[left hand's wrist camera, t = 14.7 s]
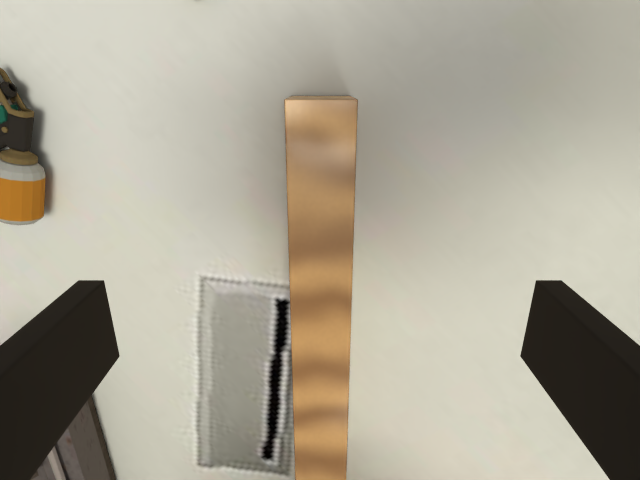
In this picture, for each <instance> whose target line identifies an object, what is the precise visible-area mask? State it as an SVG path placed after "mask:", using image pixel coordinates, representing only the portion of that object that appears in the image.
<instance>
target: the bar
mask: <svg viewBox="0 0 640 480" xmlns="http://www.w3.org/2000/svg"><path fill="white" fill-rule="evenodd" d="M284 102H285V136H286V171H287V205H288V240H289V275H290V309H291V344H292V379H293V413H294V448H295V480H346V464H347V431H348V399H349V366H350V333H351V300H352V268H353V235H354V202H355V169H356V137H357V104H358V100H357V99H355V98H353V97H351V96H291V97H289V98H287V99H285V100H284Z"/></svg>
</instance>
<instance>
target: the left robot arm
mask: <svg viewBox="0 0 640 480" xmlns="http://www.w3.org/2000/svg"><path fill="white" fill-rule="evenodd" d="M118 358H119V351H118V346H117V342H116V337H115V332H114V327H113V322H112V317H111V313H110V308H109V303H108V298H107V293H106V288H105V283H104V281H77V282H76V283H75V284H74V285H73V286H71V287H70V288H69V289H68V290H67V291H65V292H64V293H63V294H62V295H61V296H59V297H58V298H57V299H56V300H55V301H53V302H52V303H51V304H50V305H49V306H47V307H46V308H45V309H44V310H43V311H41V312H40V313H39V314H38V315H37V316H35V317H34V318H33V319H32V320H31V321H29V322H28V323H27V324H26V325H25V326H23V327H22V328H21V329H20V330H19V331H17V332H16V333H15V334H14V335H13V336H11V337H10V338H9V339H8V340H7V341H5V342H4V343H3V344H2V345H1V346H0V480H30V479H31V478H32V476H33V475H34V474H35V472H36V471H37V469H38V468H39V467H40V465H41V464H42V463H43V461H44V460H45V458H46V457H47V456H48V454H49V453H50V451H51V450H52V449H53V447H54V446H55V445H56V443H57V442H58V440H59V439H60V438H61V436H62V435H63V434H64V432H65V431H66V429H67V428H68V427H69V425H70V424H71V422H72V421H73V420H74V418H75V417H76V416H77V414H78V413H79V411H80V410H81V409H82V407H83V406H84V405H85V403H86V402H87V400H88V399H89V398H90V396H91V395H92V393H93V392H94V391H95V389H96V388H97V387H98V385H99V384H100V382H101V381H102V380H103V378H104V377H105V376H106V374H107V373H108V371H109V370H110V369H111V367H112V366H113V365H114V363H115V362H116V360H117V359H118ZM521 358H522V359H523V360H524V362H525V363H526V365H527V366H528V367H529V369H530V370H531V371H532V373H533V374H534V376H535V377H536V378H537V380H538V381H539V382H540V384H541V385H542V387H543V388H544V389H545V391H546V392H547V393H548V395H549V396H550V398H551V399H552V400H553V402H554V403H555V405H556V406H557V407H558V409H559V410H560V411H561V413H562V414H563V416H564V417H565V418H566V420H567V421H568V422H569V424H570V425H571V427H572V428H573V429H574V431H575V432H576V434H577V435H578V436H579V438H580V439H581V440H582V442H583V443H584V445H585V446H586V447H587V449H588V450H589V451H590V453H591V454H592V456H593V457H594V458H595V460H596V461H597V463H598V464H599V465H600V467H601V468H602V469H603V471H604V472H605V474H606V475H607V476H608V478H609V479H610V480H640V346H639V345H638V344H637V343H636V342H635V341H633V340H632V339H631V338H630V337H629V336H627V335H626V334H625V333H624V332H623V331H621V330H620V329H619V328H618V327H617V326H615V325H614V324H613V323H612V322H611V321H609V320H608V319H607V318H606V317H605V316H603V315H602V314H601V313H600V312H599V311H597V310H596V309H595V308H594V307H593V306H591V305H590V304H589V303H588V302H587V301H585V300H584V299H583V298H582V297H581V296H579V295H578V294H577V293H576V292H575V291H573V290H572V289H571V288H570V287H569V286H567V285H566V284H565V283H564V282H563V281H536V283H535V288H534V293H533V298H532V303H531V308H530V312H529V317H528V322H527V327H526V332H525V337H524V342H523V346H522V351H521Z"/></svg>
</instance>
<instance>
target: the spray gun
mask: <svg viewBox="0 0 640 480" xmlns="http://www.w3.org/2000/svg"><path fill="white" fill-rule="evenodd" d="M0 75H1V76H2V78H3V79H4V81H5V82H2V83H1V82H0V149H1V148H3V147H5V146H8V147H9V148H10V149H8V150H4V151H1V152H0V222H3V223H6V224H11V225H27V224H33V223H35V222H37V221H38V220H40V219H41V218H43V216H44V198H45V176H46V175H45V171H44V168H43V167H42V166H41V165H40V164H38V156H36V155H35V154H33V153H31V152H30V151H29V149H30V147H31V138H32V129H33V121H34V118H33V117H34V111H32V110H29V109H27V108H26V107H25V105H24V104H23V102H22V100H21V98H20V96H19V95H18V93H17V88H16V87H15V85H13V84H12V82H11V81H10V79H9V77H8V75H7V74H6V72H5V71H4V70H3V69H1V68H0ZM14 102H17V104H18V105H19V107H20V109H21V110H22V111H18V106H17V105H15V104H12V103H14Z"/></svg>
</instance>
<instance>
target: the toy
mask: <svg viewBox="0 0 640 480" xmlns="http://www.w3.org/2000/svg"><path fill="white" fill-rule="evenodd" d="M30 480H116V479H115V475H114V472H113V468H112V465H111V462H110V458H109V455H108V451H107V448H106V444H105V441H104V437H103V434H102V431H101V427H100V424H99V420H98V417H97V413H96V410H95V407H94V403H93V400H92V396H90V398H89V399H88V400H87V402H86V403H85V405H84V406H83V407H82V409H81V410H80V411H79V413H78V414H77V416H76V417H75V418H74V420H73V421H72V422H71V424H70V425H69V427H68V428H67V429H66V431H65V432H64V434H63V435H62V436H61V438H60V439H59V440H58V442H57V443H56V445H55V446H54V447H53V449H52V450H51V451H50V453H49V454H48V456H47V457H46V458H45V460H44V461H43V463H42V464H41V465H40V467H39V468H38V469H37V471H36V472H35V474H34V475H33V476H32V478H31V479H30Z"/></svg>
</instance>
